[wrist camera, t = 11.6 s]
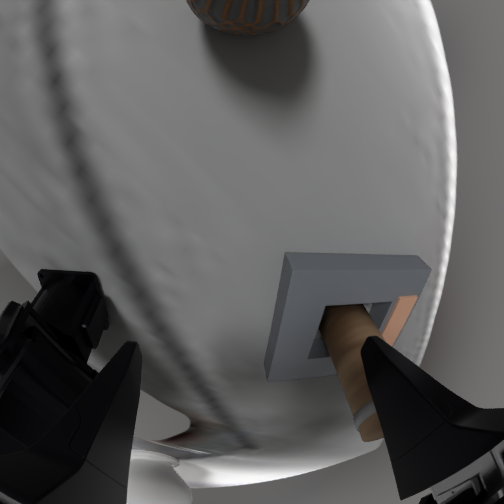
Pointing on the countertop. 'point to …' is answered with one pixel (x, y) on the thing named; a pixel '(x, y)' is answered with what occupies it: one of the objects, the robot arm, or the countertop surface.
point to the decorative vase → (155, 480)
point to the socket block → (336, 293)
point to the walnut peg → (352, 361)
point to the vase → (247, 14)
